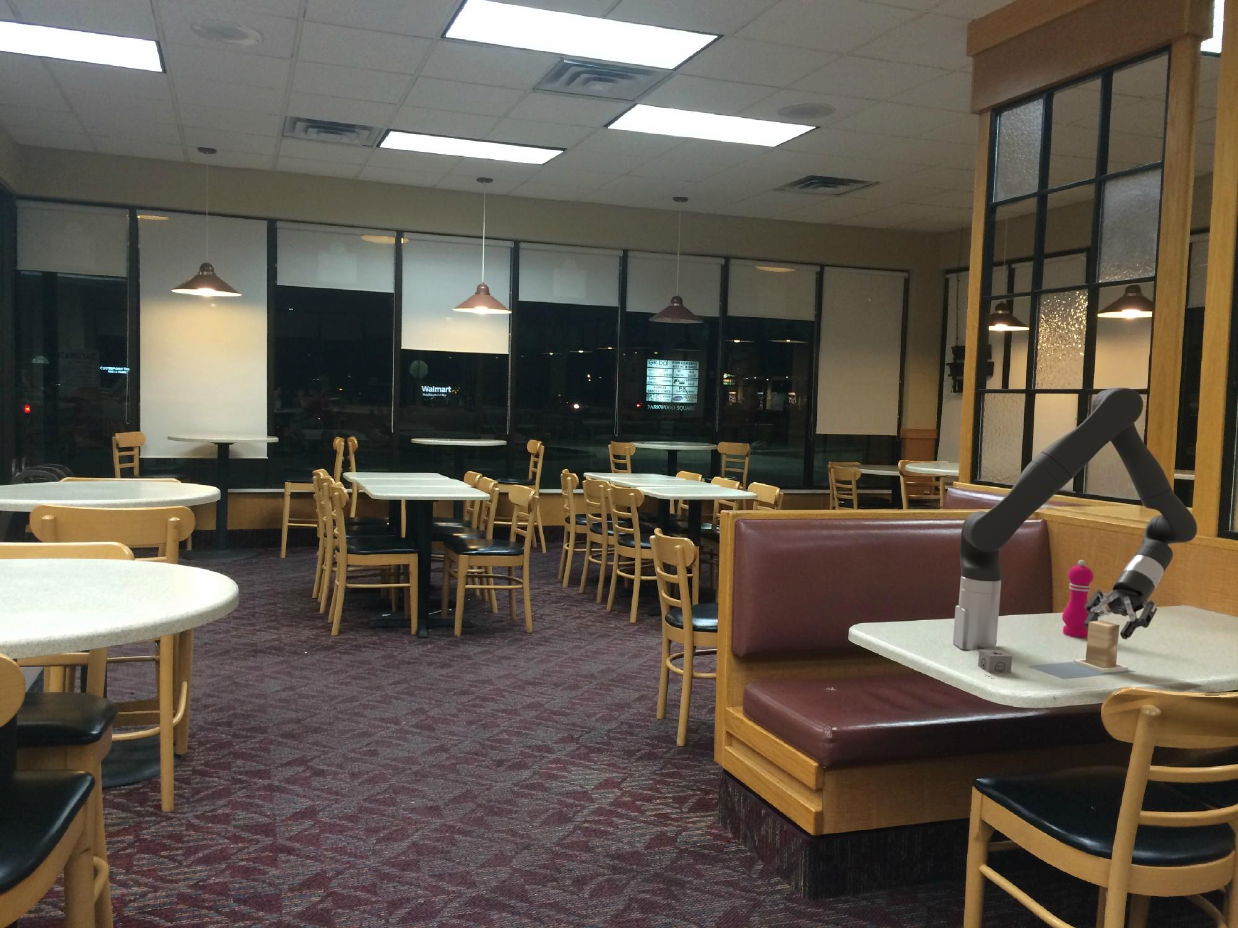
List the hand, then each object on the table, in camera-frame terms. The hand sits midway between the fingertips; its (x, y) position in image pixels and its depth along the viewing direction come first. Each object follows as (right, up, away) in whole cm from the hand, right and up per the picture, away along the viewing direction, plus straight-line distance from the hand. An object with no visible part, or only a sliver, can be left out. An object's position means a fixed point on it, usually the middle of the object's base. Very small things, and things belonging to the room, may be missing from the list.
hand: (1104, 632), depth 217 cm
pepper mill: (+11, -7, +37) cm, 39 cm away
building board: (-6, -9, -2) cm, 11 cm away
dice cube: (-28, -9, -6) cm, 29 cm away
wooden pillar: (-1, -8, 0) cm, 8 cm away
